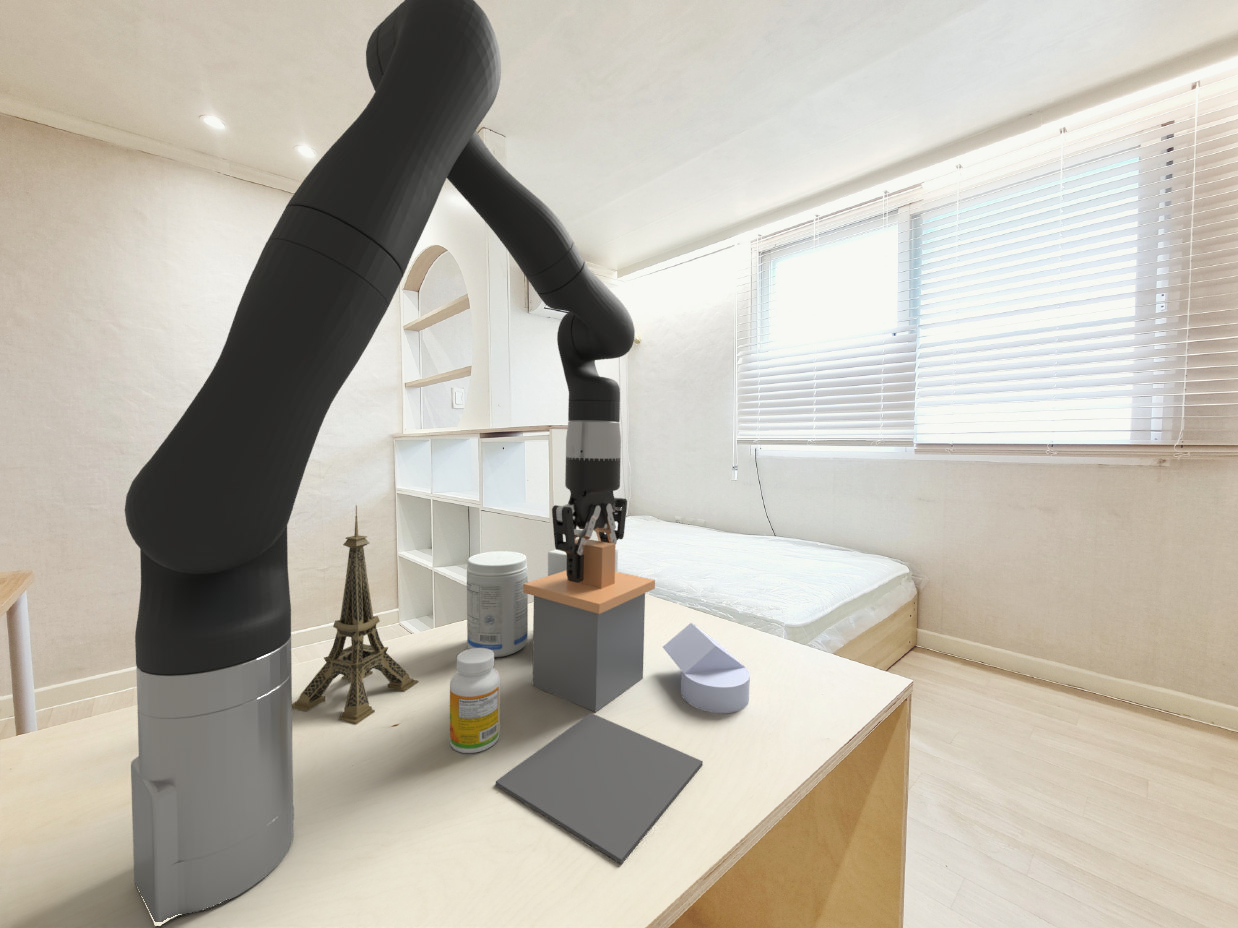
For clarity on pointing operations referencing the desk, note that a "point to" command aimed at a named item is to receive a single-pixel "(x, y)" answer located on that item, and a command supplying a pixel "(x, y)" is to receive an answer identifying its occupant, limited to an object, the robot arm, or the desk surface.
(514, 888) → the desk surface
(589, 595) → the lid
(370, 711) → the eiffel tower
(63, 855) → the desk surface
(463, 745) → the supplement bottle
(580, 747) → the rubber mat
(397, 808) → the desk surface
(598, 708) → the storage box
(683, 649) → the wedge on round base
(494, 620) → the supplement tub
